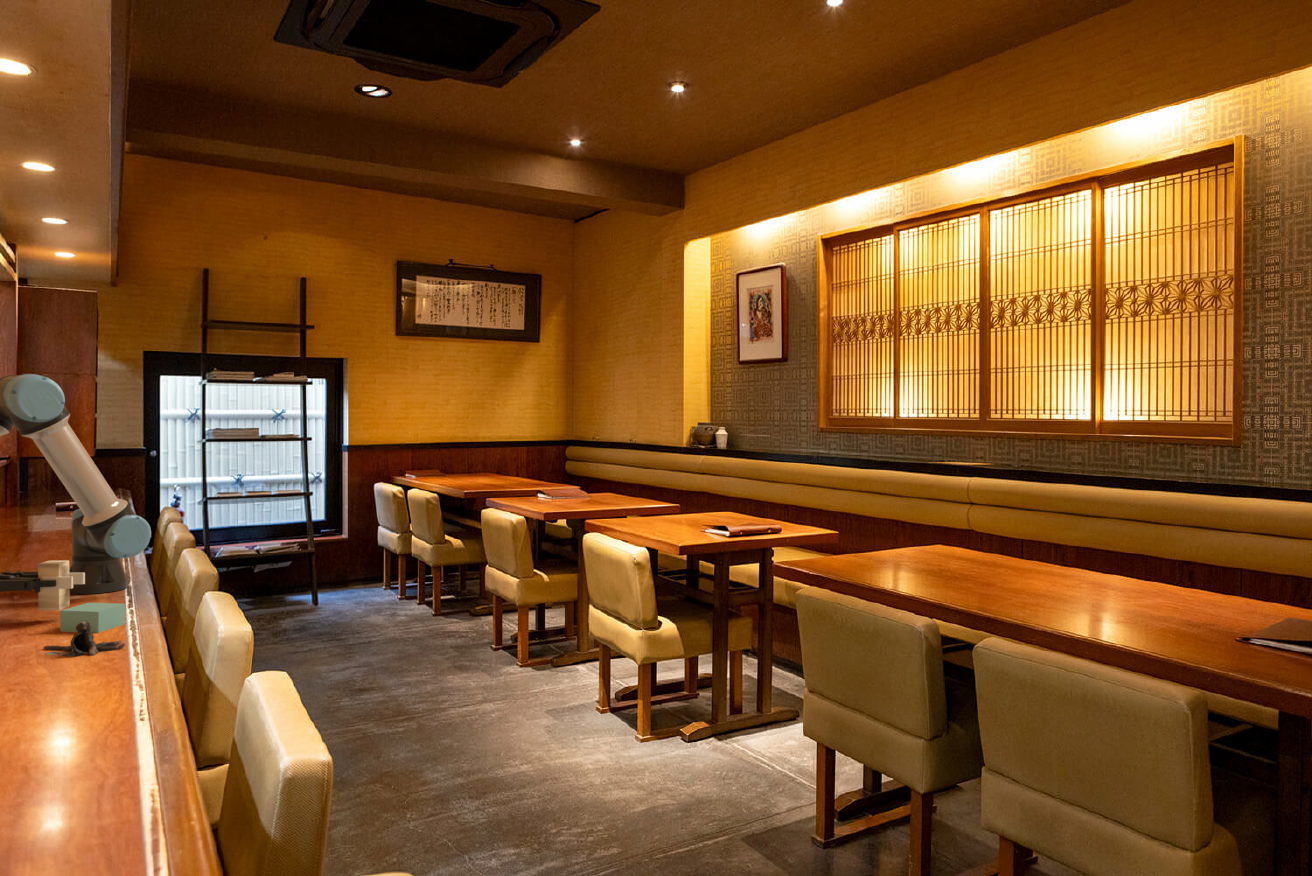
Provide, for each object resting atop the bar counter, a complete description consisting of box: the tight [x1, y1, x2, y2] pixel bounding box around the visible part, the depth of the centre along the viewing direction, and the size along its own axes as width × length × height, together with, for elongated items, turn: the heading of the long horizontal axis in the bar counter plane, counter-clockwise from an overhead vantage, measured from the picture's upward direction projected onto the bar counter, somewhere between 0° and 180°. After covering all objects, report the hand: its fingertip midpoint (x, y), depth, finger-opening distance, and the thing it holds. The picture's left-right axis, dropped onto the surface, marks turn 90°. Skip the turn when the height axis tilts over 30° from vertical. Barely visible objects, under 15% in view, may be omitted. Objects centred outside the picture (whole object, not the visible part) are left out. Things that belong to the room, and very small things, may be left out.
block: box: [37, 559, 71, 612], centre depth 208 cm, size 4×4×11 cm
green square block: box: [59, 602, 126, 634], centre depth 203 cm, size 9×9×5 cm
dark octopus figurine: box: [43, 621, 126, 658], centre depth 183 cm, size 12×10×12 cm
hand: (78, 580), depth 209 cm, fingers closed on block, 4 cm apart
